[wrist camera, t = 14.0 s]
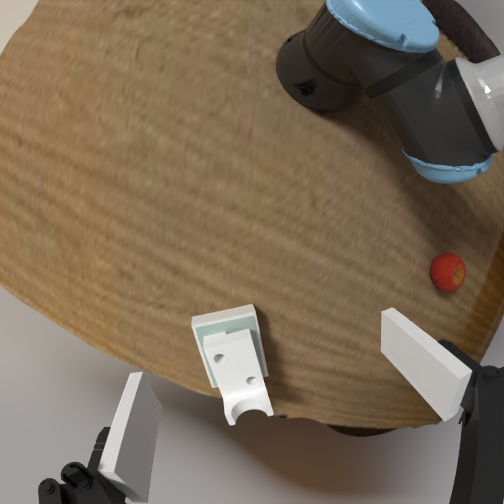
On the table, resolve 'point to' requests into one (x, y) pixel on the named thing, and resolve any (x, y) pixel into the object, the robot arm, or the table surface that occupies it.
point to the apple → (447, 272)
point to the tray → (230, 323)
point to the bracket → (237, 373)
